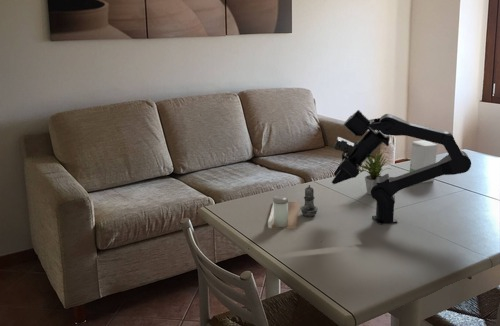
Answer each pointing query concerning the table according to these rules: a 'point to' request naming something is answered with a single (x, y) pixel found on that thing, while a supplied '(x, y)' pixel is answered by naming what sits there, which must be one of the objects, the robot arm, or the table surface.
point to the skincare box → (422, 155)
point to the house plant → (373, 170)
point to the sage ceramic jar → (280, 211)
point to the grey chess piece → (309, 203)
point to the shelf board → (291, 216)
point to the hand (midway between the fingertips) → (333, 179)
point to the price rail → (271, 217)
